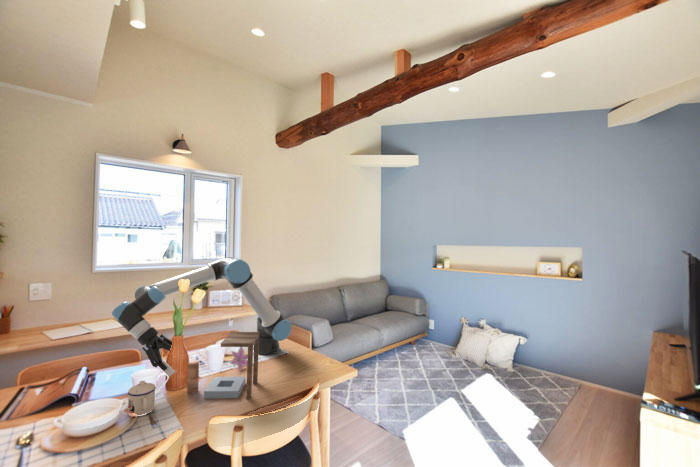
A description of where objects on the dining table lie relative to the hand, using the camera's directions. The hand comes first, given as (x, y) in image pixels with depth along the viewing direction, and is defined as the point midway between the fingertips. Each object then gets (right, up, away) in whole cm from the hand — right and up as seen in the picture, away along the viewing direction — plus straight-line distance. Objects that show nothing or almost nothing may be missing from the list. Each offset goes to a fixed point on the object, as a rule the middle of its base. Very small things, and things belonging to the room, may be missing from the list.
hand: (179, 367), depth 145 cm
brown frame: (+25, -11, +3) cm, 28 cm away
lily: (+17, -11, +26) cm, 34 cm away
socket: (+19, -11, +2) cm, 22 cm away
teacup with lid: (-5, -10, -18) cm, 21 cm away
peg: (+5, -10, +1) cm, 12 cm away
